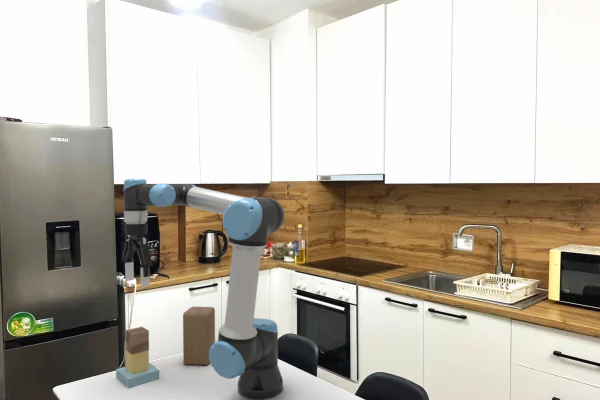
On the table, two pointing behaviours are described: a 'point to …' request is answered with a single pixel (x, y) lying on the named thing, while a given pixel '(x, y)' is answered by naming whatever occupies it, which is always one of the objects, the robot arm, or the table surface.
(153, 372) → the base brick
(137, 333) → the brick
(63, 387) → the table surface
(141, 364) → the brick
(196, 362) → the wooden block
